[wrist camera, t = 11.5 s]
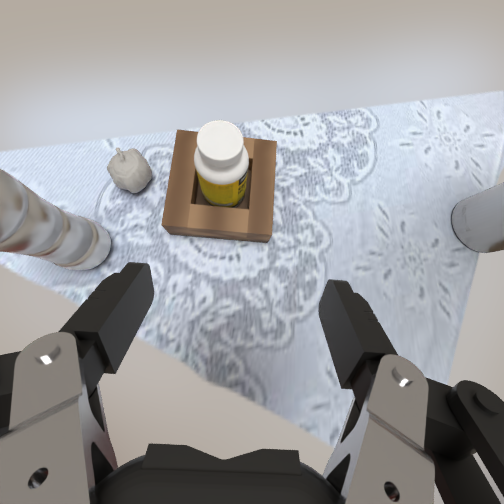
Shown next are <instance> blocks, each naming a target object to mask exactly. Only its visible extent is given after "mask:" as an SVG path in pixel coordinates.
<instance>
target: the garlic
mask: <svg viewBox="0 0 504 504" xmlns="http://www.w3.org/2000/svg"><path fill="white" fill-rule="evenodd" d="M116 151H117V154H116V155H115V156H113V157H112V159H111V161H110V162H109V164H108V166H107V170H108V172H109V173H110V176H111V177H112V179H113V181H114V183H115V184H116V185H117V187H118V188H120V189H125V190H129V191H130V192H131V193H138V192H140V191H141V190H142V189H143V188H145V187H146V185H147V183H148V182H149V181H150V180H151V177H152V171H151V168H150V166H149V165H148V162H147V160H146V159H145V158H144V157H143V156H142V155H141V153H140V152H139V151H138V150H136V149H129V150H128V151H120V148H116Z"/></svg>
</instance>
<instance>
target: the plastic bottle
mask: <svg viewBox="0 0 504 504" xmlns="http://www.w3.org/2000/svg"><path fill="white" fill-rule="evenodd" d="M110 248H111V239H110V236H109V234H108V232H107V231H106V230H105V229H104V228H103V227H102V226H101V225H100V224H99V223H97V222H96V221H94V220H91V219H88V218H85V217H81V216H76V215H74V214H72V213H69V212H67V211H64V210H62V209H59V208H58V207H56V206H54V205H53V204H51V203H50V202H48V201H46V200H45V199H43V198H41V197H40V196H38V195H37V194H36V193H34V192H33V191H32V190H30V189H29V188H28V187H26V186H25V185H24V184H22V183H21V182H20V181H18V180H17V179H16V178H15V177H13V176H11V175H10V174H8V173H7V172H5V171H3V170H1V169H0V252H10V253H16V254H24V255H29V256H34V257H37V258H40V259H44V260H47V261H50V262H52V263H54V264H56V265H58V266H60V267H63V268H65V269H69V270H88V269H92V268H94V267H96V266H98V265H99V264H101V263H102V262H103V261H104V260H105V259H106V257H107V256H108V254H109V251H110Z"/></svg>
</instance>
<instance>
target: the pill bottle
mask: <svg viewBox="0 0 504 504" xmlns="http://www.w3.org/2000/svg"><path fill="white" fill-rule="evenodd" d="M243 144H244V141H243V136H242V133H241V131H240V130H239V129H238V128H237V127H236V126H235V125H234V124H232V123H230V122H227V121H222V120H216V121H212V122H209V123H207V124H205V125H204V126H203V127H202V128H201V129H200V130H199V132H198V135H197V148H196V150H195V154H194V164H195V168H196V171H197V175H198V179H199V182H200V186H201V190H202V194H203V196H204V199H205V201H206V202H207V203H208V204H209V205H210V206H217V207H228V208H236V207H237V206H239V205H240V204H241V202H242V201H243V199H244V196H245V191H246V182H247V174H248V165H249V157H248V153H247V150H246V148H245V146H244V145H243Z"/></svg>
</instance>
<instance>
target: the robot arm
mask: <svg viewBox="0 0 504 504" xmlns="http://www.w3.org/2000/svg"><path fill="white" fill-rule="evenodd" d="M452 224H453V228H454V231H455V233H456V235H457V236H458V238H459V239H460V240H461V241H462V242H463V243H464V244H465V245H466V246H467V247H469V248H471V249H473V250H475V251H478V252H482V253H488V252H495V251H500V250H504V182H503V183H501V184H499V185H497V186H494V187H492V188H490V189H487V190H485V191H483V192H481V193H478V194H476V195H474V196H471V197H469V198H467V199H465V200H462V201H461V202H459V203H458V204H457V205H456V206H455V208H454V210H453V214H452ZM153 298H154V287H153V281H152V276H151V270H150V266H149V264H147V263H135V262H129V263H127V264H126V266H125V267H124V268H123V269H122V271H121V272H120V273H114V274H112V275H110V276H109V277H107V278H106V279H104V280H103V281H102V282H101V283H100V284H99V285H98V287H97V288H96V289H95V291H93V292H92V294H91V295H90V296H89V297H88V300H87V299H86V300H85V302H84V303H83V304H82V305H81V306H80V307H79V309H78V310H77V311H76V312H75V313H74V314H73V316H72V317H71V318H70V319H69V320H68V322H67V323H66V324H65V325H64V326H63V327H62V328H61V330H60V331H59V332H56V333H52V334H48V335H45V336H43V337H41V338H38V339H37V340H35V341H33V342H32V343H30V344H29V345H28V346H27V347H25V348H24V349H23V350H22V351H19V352H14V353H9V354H4V355H0V504H434V481H435V484H436V486H437V488H438V491H439V493H440V495H441V497H442V500H443V502H444V504H501V503H500V501H499V499H498V498H497V496H496V494H495V493H494V491H493V489H492V487H491V486H490V484H489V482H488V481H487V479H486V477H485V475H484V474H483V472H482V470H481V468H480V467H479V465H478V463H477V462H476V460H475V458H474V457H473V455H472V454H474V453H476V452H477V453H478V455H479V456H480V458H481V460H482V461H483V463H484V465H485V466H486V468H487V470H488V471H489V473H490V475H491V476H492V478H493V480H494V481H495V483H496V485H497V486H498V488H499V490H500V492H501V493H502V494H503V497H504V402H503V401H502V400H501V399H500V398H499V397H498V396H497V395H496V394H494V393H493V392H491V391H490V390H488V389H487V388H486V387H484V386H482V385H480V384H478V383H475V382H472V381H467V380H464V381H460V382H459V383H458V384H456V385H455V387H450V386H448V385H445V384H442V383H439V382H437V381H434V380H431V379H428V378H426V377H425V376H424V375H423V373H422V372H421V371H420V370H419V369H418V368H417V367H416V366H415V365H414V364H413V363H411V362H410V361H408V360H407V359H405V358H403V357H401V356H398V354H397V352H396V351H395V349H394V347H393V345H392V344H391V342H390V340H389V339H388V337H387V335H386V333H385V332H384V330H383V328H382V326H381V325H380V323H379V322H378V319H377V318H376V316H375V314H373V311H372V309H371V307H370V306H369V304H368V302H367V301H366V300H365V299H364V298H363V297H362V296H361V295H360V294H358V293H354V292H353V290H352V288H351V286H350V285H349V283H348V282H347V281H343V280H331V279H330V280H328V282H327V284H326V287H325V289H324V292H323V295H322V297H321V300H320V303H319V318H320V321H321V324H322V327H323V331H324V334H325V337H326V340H327V344H328V347H329V350H330V353H331V357H332V360H333V363H334V366H335V370H336V373H337V376H338V379H339V382H340V386H341V389H352V390H353V393H354V396H355V397H354V398H353V400H352V403H351V405H350V408H349V411H348V414H347V417H346V419H345V422H344V425H343V428H342V431H341V433H340V436H339V439H338V442H337V444H336V447H335V449H334V451H333V453H332V455H331V457H330V459H329V461H328V463H327V465H326V468H325V470H324V473H323V475H321V474H319V473H318V472H317V471H315V470H314V469H313V468H311V467H309V466H308V465H306V464H304V463H302V462H300V460H299V453H298V450H278V449H260V450H257V451H253V452H250V453H247V454H243V455H240V456H237V457H234V458H230V459H226V460H222V459H219V458H216V457H214V456H211V455H209V454H207V453H204V452H202V451H199V450H197V449H194V448H192V447H190V446H187V445H170V444H149V445H148V448H147V451H146V455H143V456H140V457H138V458H135V459H133V460H131V461H129V462H127V463H125V464H124V465H122V466H120V467H119V468H118V465H117V461H116V457H115V453H114V450H113V447H112V444H111V441H110V438H109V434H108V429H107V424H106V418H105V413H104V408H103V403H102V397H101V392H100V387H99V384H98V382H99V381H100V379H101V377H102V375H103V373H109V374H116V372H117V370H118V368H119V366H120V364H121V362H122V360H123V358H124V356H125V354H126V352H127V351H128V349H129V347H130V345H131V343H132V341H133V339H134V337H135V335H136V333H137V331H138V329H139V327H140V325H141V323H142V321H143V319H144V318H145V316H146V314H147V312H148V310H149V308H150V306H151V304H152V301H153Z"/></svg>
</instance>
